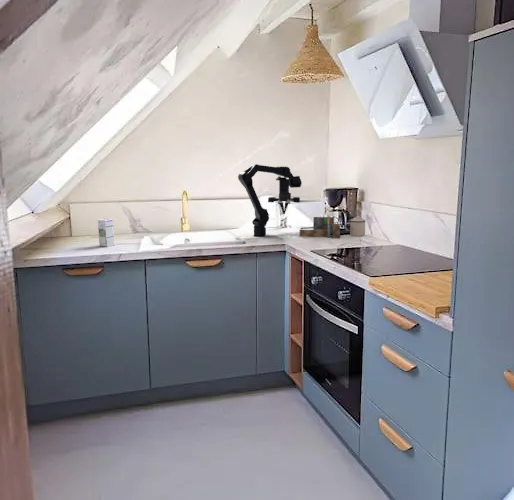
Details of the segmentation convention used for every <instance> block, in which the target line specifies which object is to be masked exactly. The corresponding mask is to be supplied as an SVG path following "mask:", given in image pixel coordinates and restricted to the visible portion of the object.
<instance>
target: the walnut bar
mask: <svg viewBox="0 0 514 500" xmlns="http://www.w3.org/2000/svg"><path fill="white" fill-rule="evenodd" d="M298 233H299V238H328V236H327V230H313V229H299V231H298Z"/></svg>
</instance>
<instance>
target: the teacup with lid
mask: <svg viewBox="0 0 514 500" xmlns="http://www.w3.org/2000/svg"><path fill="white" fill-rule="evenodd" d="M349 221H350V222H346V223H345V224H344V228H345V231H347V232H349V235H350V236H352V237H364V236H366V219H364V218H362V217H360V215H356V216H355V217H353V218H351V219H349ZM347 225H349V229H348V228H347Z"/></svg>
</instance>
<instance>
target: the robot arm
mask: <svg viewBox="0 0 514 500" xmlns="http://www.w3.org/2000/svg"><path fill="white" fill-rule="evenodd" d="M258 172H262V173H268V174H274V175H276V176H278V177H276V178H275V180H276V181H279V182H278V185H279V189H278V190H279V193H278V197H275V196H269V197H268V198H267V203H274V202H277V204H279V206H280V208H281V210H282V214H283V215H285V214H286V211H287V208H288V206H289V205H290V204H291V202H293V203H300V202H301V198H300V197H299V196H293V197H292V192H290V188H293V189H295V188H296V189H297V188H301V187H302V179H301V176H300V175H296V176H295V175H293V173H292V172H291V169H290V167H289V166H269V165H262V164H257V163H256V164H255V163H254V164H251V166H249V167H248V168H246V169H244V170H243V171H241V172H239V174H238V176H237V179H238V181H239V182H240V184H241V185H242V187H244V189H245V190H246V193H247V196H248V197H249V199H250V202H251V204H252V207H253V208H254V217H255V218H254V219H253V220H252V221H251V223H252V225H253V237H265V236H266V234H267V228H266V226H267V224H268V222H269V219H270V214H269V212H268V209H267V208H264V207H263V206H262V204H261V201H260V200H259V197H258V194H257V192H256V191H255V188H254V186H253V177H254V176H255V175H256V174H257V173H258ZM284 202H285V203H284Z"/></svg>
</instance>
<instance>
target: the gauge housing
mask: <svg viewBox="0 0 514 500" xmlns="http://www.w3.org/2000/svg"><path fill="white" fill-rule="evenodd" d="M328 218H329V225H330V235H331V236H332V239H340V238H341V225H340V223H334V222H335V219H334V218H335V217H334V216H314V217H313V227H312V228H313V229H312V230H327V225H328V223H327V220H328Z"/></svg>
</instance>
